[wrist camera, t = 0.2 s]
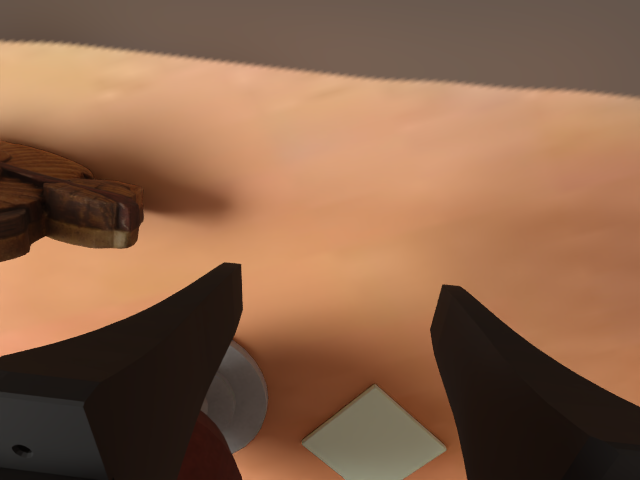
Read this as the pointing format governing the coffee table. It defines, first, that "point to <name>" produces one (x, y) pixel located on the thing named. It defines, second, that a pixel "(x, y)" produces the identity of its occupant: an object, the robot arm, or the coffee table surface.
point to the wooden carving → (62, 203)
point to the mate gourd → (226, 418)
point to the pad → (373, 440)
